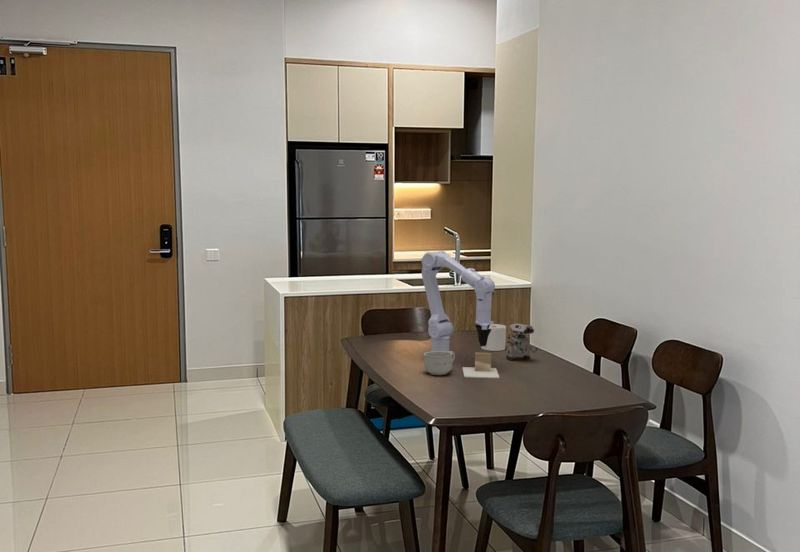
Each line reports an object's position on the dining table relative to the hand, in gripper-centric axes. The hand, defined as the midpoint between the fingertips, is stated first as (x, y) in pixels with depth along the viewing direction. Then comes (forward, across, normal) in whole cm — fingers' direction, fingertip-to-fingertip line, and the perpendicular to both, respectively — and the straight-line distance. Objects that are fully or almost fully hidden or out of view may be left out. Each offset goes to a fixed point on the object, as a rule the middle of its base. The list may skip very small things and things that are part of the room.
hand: (482, 344), depth 299 cm
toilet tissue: (+10, +36, -7) cm, 38 cm away
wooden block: (+9, -6, 0) cm, 11 cm away
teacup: (+10, -9, +16) cm, 21 cm away
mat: (+9, -8, +1) cm, 12 cm away
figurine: (+10, +15, -17) cm, 25 cm away
